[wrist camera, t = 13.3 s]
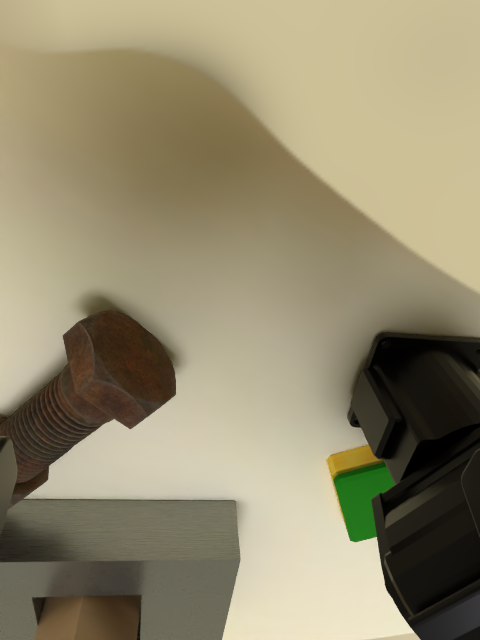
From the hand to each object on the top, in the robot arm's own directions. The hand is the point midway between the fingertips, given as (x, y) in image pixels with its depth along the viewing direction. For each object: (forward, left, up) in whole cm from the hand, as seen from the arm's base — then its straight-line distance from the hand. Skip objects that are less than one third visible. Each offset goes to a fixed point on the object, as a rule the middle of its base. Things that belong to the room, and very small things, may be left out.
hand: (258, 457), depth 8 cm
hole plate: (+6, +26, -13) cm, 30 cm away
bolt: (+8, +11, -14) cm, 19 cm away
